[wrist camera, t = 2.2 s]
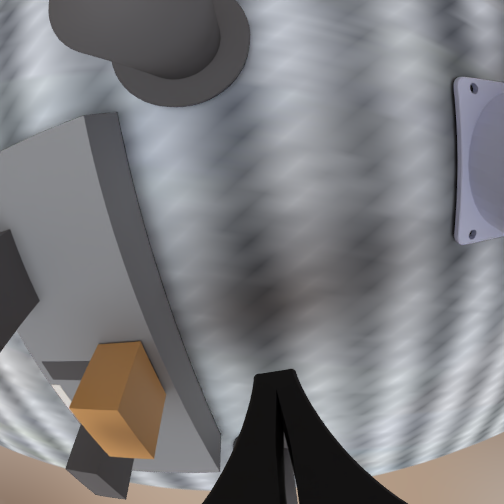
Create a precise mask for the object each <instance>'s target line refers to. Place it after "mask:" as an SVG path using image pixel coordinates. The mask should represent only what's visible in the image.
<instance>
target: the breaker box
mask: <svg viewBox="0 0 504 504" xmlns="http://www.w3.org/2000/svg"><path fill="white" fill-rule="evenodd" d="M16 330H17V332H18V334H19V336H20V337H21V339H22V341H23V342H24V344H25V346H26V348H27V349H28V351H29V352H30V354H31V356H32V357H33V359H34V360H35V362H36V364H37V365H38V367H39V368H40V370H41V371H42V373H43V374H44V376H45V377H46V379H47V380H48V382H49V383H50V385H51V386H52V387H53V389H54V390H55V392H56V393H57V394H58V396H59V397H60V399H61V400H62V401H63V403H64V404H65V405H66V407H67V408H68V409H69V407H70V404H71V402H72V400H73V397H74V395H75V393H76V390H77V388H78V386H79V384H80V382H81V379H82V377H83V375H84V373H85V371H86V369H87V366H88V364H89V362H90V360H91V358H92V356H93V354H94V352H95V350H96V348H97V345H98V344H111V343H125V342H138V341H141V343H142V345H143V348H144V350H145V352H146V354H147V356H148V358H149V361H150V363H151V365H152V367H153V369H154V371H155V373H156V375H157V377H158V379H159V381H160V383H161V385H162V387H163V389H164V391H165V393H166V398H165V403H164V408H163V413H162V418H161V424H160V429H159V435H158V440H157V446H156V451H155V457H154V459H138V458H123V457H111V456H109V455H108V454H107V453H106V452H105V451H104V450H103V449H102V448H101V446H100V445H99V444H98V443H97V442H96V441H95V440H94V438H93V437H92V436H91V435H90V434H89V433H88V431H87V430H86V429H85V428H84V427H83V425H82V424H81V423H80V422H79V420H78V419H77V418H76V417H75V415H74V414H73V413H72V411H71V410H70V409H69V410H70V412H71V413H72V414H73V416H74V417H75V418H76V419H77V421H78V422H79V423H80V424H81V426H80V428H79V431H78V434H77V437H76V439H75V442H74V445H73V448H72V451H71V454H70V457H69V460H68V463H67V466H66V470H67V471H69V472H70V473H71V474H72V475H73V476H74V477H75V478H76V479H78V480H79V481H80V482H81V483H82V484H83V485H85V486H86V487H87V488H88V489H89V490H91V491H92V492H93V493H94V494H95V495H100V496H105V497H112V498H118V499H126V497H127V492H128V487H129V481H130V476H131V472H132V471H145V472H167V473H208V472H220V452H221V435H220V432H219V430H218V428H217V426H216V423H215V421H214V419H213V417H212V414H211V412H210V410H209V407H208V405H207V403H206V400H205V398H204V396H203V393H202V391H201V388H200V386H199V383H198V381H197V378H196V376H195V373H194V371H193V368H192V366H191V363H190V361H189V358H188V356H187V353H186V350H185V348H184V345H183V342H182V340H181V337H180V334H179V331H178V329H177V326H176V323H175V320H174V318H173V315H172V312H171V309H170V306H169V303H168V300H167V297H166V294H165V291H164V288H163V285H162V282H161V279H160V276H159V273H158V270H157V267H156V263H155V260H154V257H153V254H152V250H151V247H150V244H149V240H148V237H147V233H146V230H145V226H144V223H143V219H142V216H141V212H140V208H139V205H138V201H137V197H136V193H135V189H134V185H133V181H132V177H131V173H130V169H129V165H128V161H127V156H126V152H125V148H124V143H123V139H122V134H121V129H120V124H119V120H118V115H117V112H113V113H102V114H92V115H84V116H81V117H78V118H76V119H73V120H70V121H68V122H65V123H63V124H60V125H58V126H55V127H53V128H50V129H48V130H46V131H43V132H41V133H39V134H36V135H34V136H32V137H30V138H27V139H25V140H23V141H21V142H19V143H17V144H15V145H13V146H11V147H8V148H6V149H4V150H2V151H0V352H1V351H2V349H3V348H4V346H5V345H6V344H7V342H8V341H9V340H10V338H11V337H12V336H13V334H14V333H15V332H16Z"/></svg>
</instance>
